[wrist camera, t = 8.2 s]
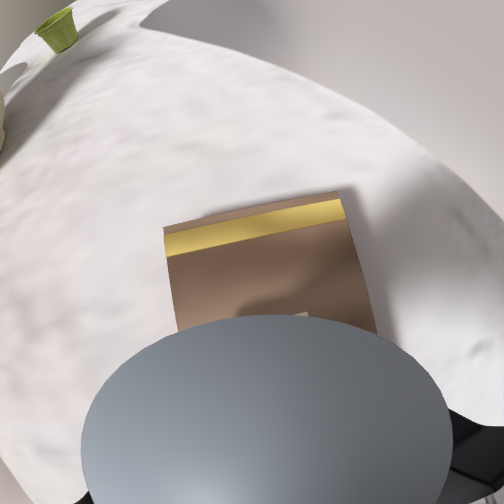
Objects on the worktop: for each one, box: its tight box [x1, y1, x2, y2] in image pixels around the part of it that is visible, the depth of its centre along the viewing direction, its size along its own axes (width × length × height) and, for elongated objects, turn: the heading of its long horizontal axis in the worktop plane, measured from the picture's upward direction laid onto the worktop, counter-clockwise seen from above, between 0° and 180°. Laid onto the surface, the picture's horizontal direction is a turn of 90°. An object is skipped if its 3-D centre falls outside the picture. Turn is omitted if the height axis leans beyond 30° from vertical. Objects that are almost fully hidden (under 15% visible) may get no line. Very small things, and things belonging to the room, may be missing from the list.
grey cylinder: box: [81, 312, 453, 504], centre depth 9 cm, size 6×6×13 cm
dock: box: [163, 191, 377, 335], centre depth 18 cm, size 22×13×3 cm, turn 12°
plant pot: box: [34, 7, 78, 53], centre depth 32 cm, size 9×9×9 cm
